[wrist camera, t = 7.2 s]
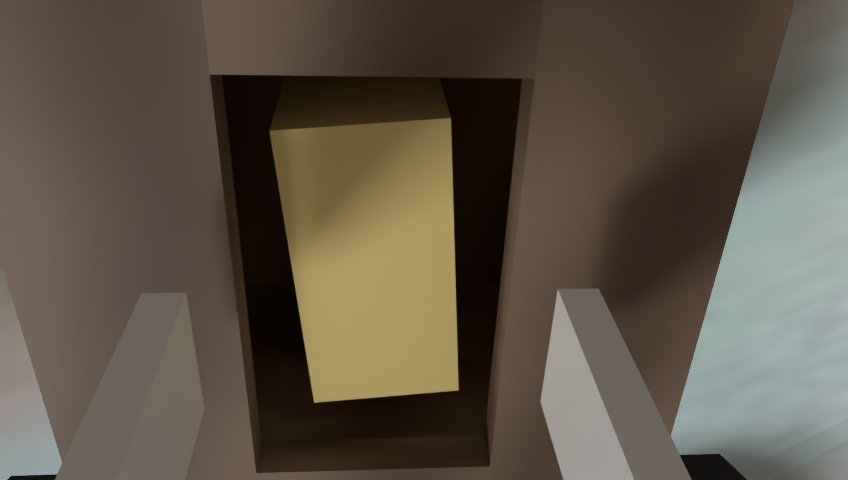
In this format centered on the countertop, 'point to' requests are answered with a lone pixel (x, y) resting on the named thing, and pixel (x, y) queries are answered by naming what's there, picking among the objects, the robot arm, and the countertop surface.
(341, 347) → the yellow rectangular block
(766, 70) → the brown wooden slotted box
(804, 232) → the countertop surface
